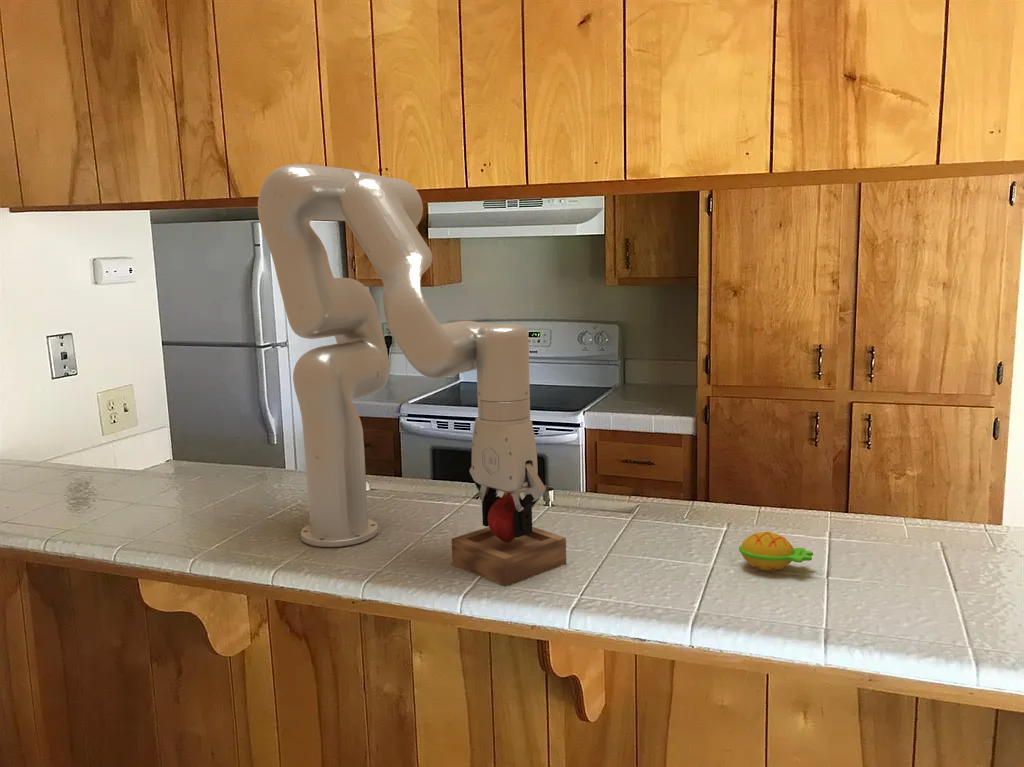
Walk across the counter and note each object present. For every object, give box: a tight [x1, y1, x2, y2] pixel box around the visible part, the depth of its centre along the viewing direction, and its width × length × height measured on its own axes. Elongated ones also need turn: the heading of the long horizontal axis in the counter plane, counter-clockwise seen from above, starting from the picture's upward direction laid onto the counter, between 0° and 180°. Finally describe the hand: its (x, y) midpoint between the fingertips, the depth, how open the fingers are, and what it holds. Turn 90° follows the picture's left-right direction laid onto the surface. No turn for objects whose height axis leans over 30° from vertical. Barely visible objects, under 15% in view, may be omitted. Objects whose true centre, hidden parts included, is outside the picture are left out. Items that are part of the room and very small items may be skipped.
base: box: [450, 526, 567, 587], centre depth 125 cm, size 12×12×4 cm
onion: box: [488, 492, 516, 543], centre depth 124 cm, size 6×6×8 cm
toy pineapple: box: [738, 531, 814, 572], centre depth 120 cm, size 7×10×5 cm
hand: (507, 528), depth 125 cm, fingers open, 6 cm apart
